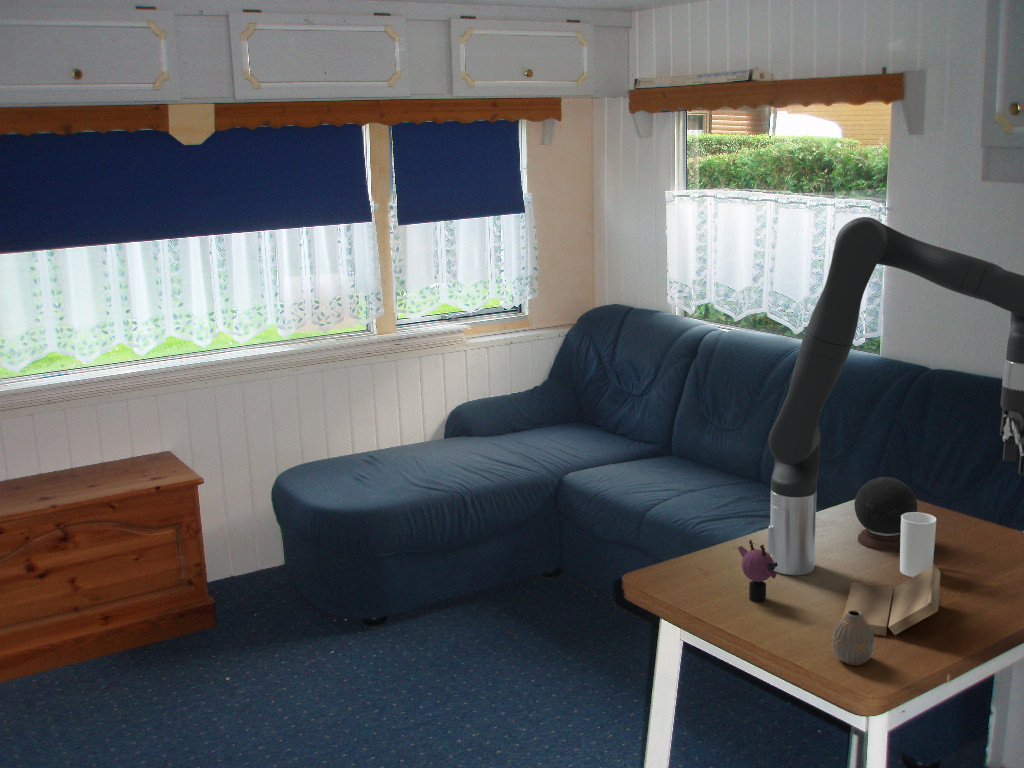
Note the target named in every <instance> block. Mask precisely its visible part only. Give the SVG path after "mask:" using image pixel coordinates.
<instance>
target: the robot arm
mask: <svg viewBox="0 0 1024 768" xmlns="http://www.w3.org/2000/svg"><path fill="white" fill-rule="evenodd" d="M877 265H882V266H885V267H891V268H896V269H899V270H903V271H905V272H907V273H911V274H914V275H916V276H918V277H921V278H923V279H924V280H927V281H928V282H931V283H933V284H934V285H937V286H940V287H942V288H945V289H947V290H948V291H949V290H950V291H952V292H954V293H958V294H961V295H964V296H967V297H969V298H973V299H976V300H981V301H984V302H988V303H990V304H992V305H994V306H997V307H998V308H1001V309H1003V310H1005V311H1007V312H1010V328H1009V334H1008V339H1007V343H1006V345H1007V346H1006V356H1005V364H1004V368H1003V373H1002V384H1001V396H1000V407H1001V410H1002V411H1001V419H1000V427H999V428H1000V430H999V436H1001V437H1002V441H1003V450H1002V451H1003V454H1002V460H1003V461H1004V462H1006V463H1007V462H1009V463H1010V462H1013V463H1014V462H1016V461H1017V452H1018V449H1019V462H1018V470H1017V471H1018V472H1017V473H1018V474H1019V475H1020V476H1021V477H1022V476H1023V477H1024V275H1023V274H1020V273H1016V272H1012V271H1009V270H1006V269H1004V268H1002V266H1000V265H998V264H996V263H993V262H990V261H987V260H985V259H981V258H979V257H975V256H971V255H968V254H965V253H962V252H959V251H954V250H951V249H947V248H944V247H940V246H937V245H933V244H930V243H928V242H924V241H922V240H919V239H916V238H914V237H911V236H909V235H908V234H907V235H906V234H904V233H902V232H900V231H898V230H896V229H894V228H892V227H890V226H889V225H886V224H884V223H882V222H881V221H879V220H878V219H875V218H874V217H871V216H870V217H869V216H860V217H857V218H854V219H852V220H850V221H849V222H847V223H845V224H844V225H843V226H842V227H841V228H840V229H839V231H838V232H837V235H836V238H835V242H834V247H833V251H832V257H831V261H830V265H829V269H828V272H827V273H828V274H827V278H826V282H825V283H824V287H823V290H822V291H821V294H820V296H819V298H818V301H817V302H816V305H815V307H814V309H813V312H812V314H811V316H810V319H809V321H808V323H807V326H806V329H805V332H804V335H803V338H802V341H801V344H800V347H799V350H798V354H797V358H796V360H795V363H794V364H795V365H794V367H793V372H792V376H791V379H790V384H789V388H788V392H787V395H786V398H785V400H784V402H783V404H782V407H781V409H780V411H779V414H778V415H777V418H776V420H775V422H774V424H773V426H772V427H771V430H770V432H769V435H768V447H769V451H770V453H771V455H772V456H773V458H774V465H773V470H772V474H771V479H770V516H769V517H770V519H769V522H770V523H769V525H768V527H767V553H768V554H769V555H772V560H773V562H774V563H776V562H777V565H778V566H777V567H775V569H774V571H775V572H777V573H778V574H782V575H790V576H803V575H804V576H805V575H808V574H810V573H812V572H813V571H814V570H815V562H816V561H815V559H816V557H815V555H816V553H815V552H816V524H817V523H816V520H817V516H816V515H817V489H818V488H817V487H818V486H817V485H818V480H819V479H818V478H819V474H820V461H821V432H820V428H819V425H818V423H819V420H820V416H821V413H822V411H823V407H824V405H825V403H826V401H827V399H828V397H829V395H830V394H831V392H832V390H833V388H834V387H835V385H836V383H837V381H838V379H839V377H840V376H841V374H842V371H843V370H844V367H845V365H846V362H847V359H848V356H849V354H850V351H851V348H852V346H853V342H854V339H855V336H856V332H857V327H858V323H859V317H860V312H861V305H862V300H863V296H864V293H865V292H866V289H867V286H868V285H869V282H870V280H871V277H872V276H873V275H872V274H873V273H874V271H875V269H876V267H877Z"/></svg>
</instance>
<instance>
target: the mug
mask: <svg viewBox="0 0 1024 768" xmlns="http://www.w3.org/2000/svg"><path fill="white" fill-rule="evenodd" d="M936 530H937V517H935V516H934V515H932V514H930V513H926V512H918V511H917V512H910V513H905V514H903V515H902V516H901V539H900V551H899V552H900V553H899V572H900V573H901V574H902V575H904V576H907V577H909V578H912V577H914V576H916V575H918V574H919V573H921V572H923V571H924V570H926V569H928V568H930V567H931V565H932V564H934V555H935V554H934V553H935V542H936V532H937V531H936Z"/></svg>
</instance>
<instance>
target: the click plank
mask: <svg viewBox="0 0 1024 768" xmlns="http://www.w3.org/2000/svg"><path fill="white" fill-rule="evenodd" d="M940 583H941V571H940V569H938V567H937V566H936V565H935V564H934V563H933V564H932V565H931V567H930V568H928V569H926V570H924V571H923V572H921V573H919V574H918V575H916V576H914V577H910V578H909V579H907V580H906V581H904V582H902V583H900V584H899V585H897V586H895V587H894V589H893V598H892V604H891V610H890V616H889V622H888V629H889V630H890V631H891V632H892V634H893V635H894V636H895V635H898V634H899V633H901V632H903V631H905V630H907V629H908V628H910V627H912V626H914V625H916V624H917V623H919V622H920V621H923V620H924V619H926V618H928V617H930V616H931V615H933V614H935V613H936V612H939V603H940V602H939V599H940V585H941V584H940Z"/></svg>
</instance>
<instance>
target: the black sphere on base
mask: <svg viewBox="0 0 1024 768" xmlns="http://www.w3.org/2000/svg"><path fill="white" fill-rule="evenodd" d="M917 501H918V500H917V498H916V496H915V493H914V491H912V489H911V488H910V487H909V486H908V485H907V484H906V483H905V482H903V481H901V480H900V479H897V478H894V477H891V476H890V477H889V476H879V477H875V478H873V479H870V480H868V481H867V482H865V483H864V484H863V485H861V487H860V488H859V490H858V491H857V492H856V496H855V498H854V511H855V512H854V513H855V515H856V518H857V519H858V522H859V523H860V524H861V525H862V526H863V528H864V529H862V531H860V533H859V534H858V535H857V542H858V543H859V545H861V546H863V547H865V548H868V549H871V550H874V551H879V552H900V539H901V516H902V515H903V514H905V513H910V512H918V502H917Z"/></svg>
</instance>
